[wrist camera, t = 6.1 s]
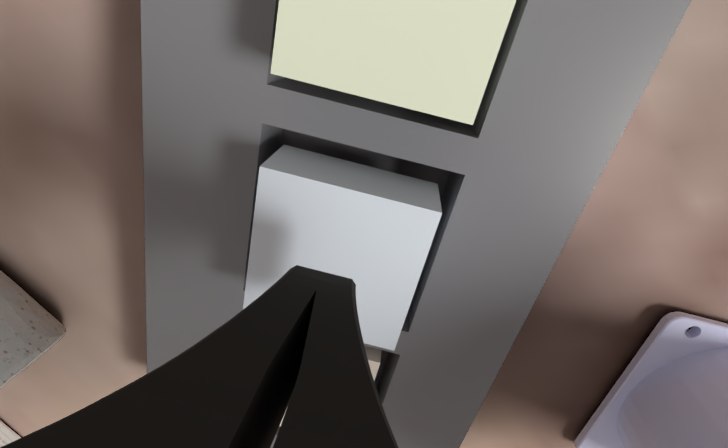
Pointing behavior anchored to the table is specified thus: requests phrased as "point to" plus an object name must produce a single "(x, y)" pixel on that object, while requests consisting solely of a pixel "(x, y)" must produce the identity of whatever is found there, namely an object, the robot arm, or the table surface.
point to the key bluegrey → (344, 232)
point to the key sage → (394, 50)
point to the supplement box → (7, 435)
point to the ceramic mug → (23, 329)
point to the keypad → (395, 154)
